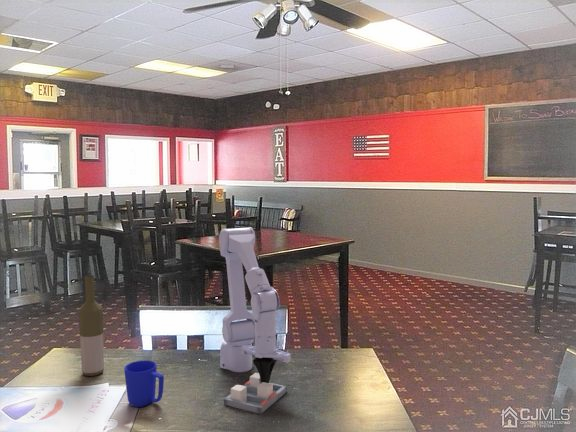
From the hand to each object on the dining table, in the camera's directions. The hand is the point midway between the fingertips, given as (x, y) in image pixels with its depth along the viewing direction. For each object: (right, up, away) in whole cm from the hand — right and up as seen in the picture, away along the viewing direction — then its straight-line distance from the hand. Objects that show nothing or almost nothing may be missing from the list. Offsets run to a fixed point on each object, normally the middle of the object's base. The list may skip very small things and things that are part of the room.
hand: (265, 383), depth 136 cm
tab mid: (0, -3, -5) cm, 6 cm away
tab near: (-7, -3, -6) cm, 10 cm away
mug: (-31, -4, -5) cm, 32 cm away
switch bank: (-2, -4, -3) cm, 6 cm away
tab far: (-2, -2, +1) cm, 4 cm away
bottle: (-53, -2, +15) cm, 55 cm away
